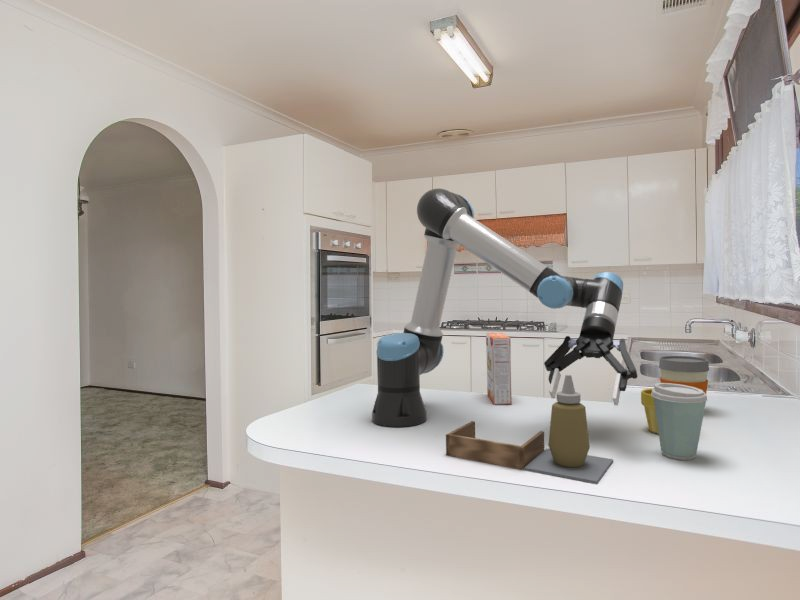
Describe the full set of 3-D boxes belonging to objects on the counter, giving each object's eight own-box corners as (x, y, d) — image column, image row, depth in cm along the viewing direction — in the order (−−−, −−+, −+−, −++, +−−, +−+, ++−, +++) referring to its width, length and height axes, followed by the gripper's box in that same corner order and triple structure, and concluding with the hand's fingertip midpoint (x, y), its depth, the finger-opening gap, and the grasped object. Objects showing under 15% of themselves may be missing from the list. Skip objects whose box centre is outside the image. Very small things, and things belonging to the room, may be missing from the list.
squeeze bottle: (593, 471, 102) (592, 379, 101) (550, 469, 103) (549, 378, 103) (586, 457, 109) (586, 372, 109) (546, 455, 111) (546, 371, 110)
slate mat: (524, 470, 104) (524, 467, 104) (546, 450, 116) (546, 448, 116) (596, 484, 96) (596, 481, 96) (613, 461, 108) (613, 459, 108)
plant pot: (683, 427, 132) (683, 389, 132) (692, 439, 122) (692, 397, 122) (639, 424, 135) (638, 387, 135) (643, 435, 126) (643, 395, 125)
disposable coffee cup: (695, 448, 116) (695, 381, 115) (716, 465, 105) (717, 391, 104) (644, 446, 117) (644, 380, 117) (660, 463, 107) (660, 390, 106)
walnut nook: (446, 454, 114) (445, 434, 114) (472, 439, 125) (472, 420, 125) (523, 469, 104) (523, 447, 104) (544, 451, 115) (544, 431, 115)
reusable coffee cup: (688, 419, 139) (688, 363, 139) (648, 409, 151) (648, 357, 150) (719, 413, 144) (719, 360, 144) (678, 404, 156) (678, 354, 155)
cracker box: (486, 395, 173) (485, 332, 172) (504, 395, 173) (503, 332, 172) (492, 405, 159) (491, 337, 158) (512, 405, 159) (511, 336, 158)
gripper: (657, 337, 122) (646, 414, 110) (551, 332, 136) (531, 401, 124) (653, 316, 117) (641, 394, 105) (544, 313, 131) (523, 382, 119)
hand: (582, 398), depth 115 cm, fingers open, 13 cm apart
